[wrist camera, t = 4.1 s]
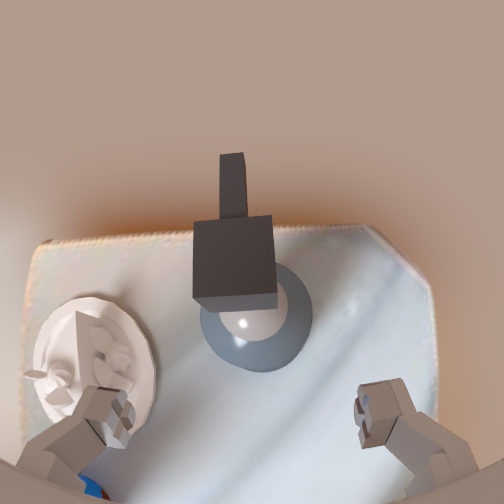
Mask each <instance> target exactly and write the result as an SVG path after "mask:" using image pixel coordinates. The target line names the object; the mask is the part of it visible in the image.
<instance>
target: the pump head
mask: <svg viewBox="0 0 504 504" xmlns="http://www.w3.org/2000/svg"><path fill="white" fill-rule="evenodd" d="M246 185H247V184H246V166H245V159H244V154H243V152H241V153H232V154H222V155H220V219H219V220H208V221H197V222H194V235H193V299H194V300H196V301H197V302H198V303H199V304H200V305H201V306H203V307H204V308H205V309H206V310H207V311H208V312H210V313H217V312H237V311H253V310H268V309H278V289H277V275H276V262H275V250H274V238H273V226H272V217H271V215H268V216H254V217H248V204H247V186H246Z"/></svg>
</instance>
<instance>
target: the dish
mask: <svg viewBox="0 0 504 504" xmlns="http://www.w3.org/2000/svg"><path fill="white" fill-rule="evenodd" d="M23 376H24V377H26V378H29V379H34V381H35V382H34V384H33V386H35V387H36V391H37V395H38V397H39V399H40V401H41V403H42V405H43V407H44V409H45V411H46V413H47V415H48V417H49V418H50V419H51V420H52V421H53V422H54V423H55V424H56V423H57V422H59V421H60V420H62V419H63V418H65V417H66V416H68V415H70V416H71V415H72V413H73V411H74V409H75V407H76V405H77V403H78V401H79V399H80V397H81V395H82V393H83V391H84V389H85V388H86V387H87V386H88V385H93V386H99V387H106V388H112V389H119V390H125V392H126V393H127V395H128V398H127V400H128V401H129V402H130V403H132V404H133V406H134V409H135V413H136V415H135V423H134V426H133V427H132V428H131V429H130V430H129V431H128V432H129V434H130V437H131V436H132V435H133V434H134V433H135V432H136V431H137V430H138V429H139V428H140V427H141V426H142V425H143V424H144V423H145V422H146V420H147V418H148V415H149V413H150V410H151V408H152V405H153V403H154V400H155V395H156V366H155V363H154V359H153V355H152V351H151V348H150V344H149V341H148V340H147V338H146V337H145V335H144V333H143V332H142V330H141V329H140V327H139V326H138V324H137V322H136V321H135V319H134V318H132V317H131V316H130V315H129V314H127V313H126V312H125V311H124V310H122V309H121V308H120V307H119V306H117V305H116V304H114V303H112V302H108V301H105V300H101V299H98V298H95V297H86V298H79V299H72V300H70V301H69V302H67V303H65V304H64V305H62V306H60V307H59V308H57V309H56V310H54V312H53V313H52V314H51V315H50V317H49V318H48V319H47V321H46V322H45V323H44V324H43V326H42V327H41V330H40V333H39V336H38V338H37V341H36V344H35V347H34V357H33V370H30V371H28V372H26V373H25V374H23ZM106 447H107V446H106Z"/></svg>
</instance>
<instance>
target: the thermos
mask: <svg viewBox="0 0 504 504" xmlns="http://www.w3.org/2000/svg"><path fill="white" fill-rule="evenodd" d="M78 477H79V478H80V479H81V480H83V481H84V482H85V484H86V488H85V491H84V494H87V495H90V496H94V497H97V498H101V499H104V500H108V501H110V499H109V497H108V496H107V494H106V493H105V492H104V490H103V489H102V488H101V487H100V486H98V485H97V484H96V483H95V482H94V481H92V480H90V479H88V478H86V477H83V476H78Z"/></svg>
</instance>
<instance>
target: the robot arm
mask: <svg viewBox="0 0 504 504" xmlns="http://www.w3.org/2000/svg"><path fill="white" fill-rule="evenodd" d="M357 394H358V398H357V399H355V403H354V419H355V423H356V425H358V426H359V427H360V430H359V433H358V435H359V439H360V443H361V447H362V449H366V448H372V447H377V446H383V445H385V447H386V448H387V449H388V450H389V451H390V452H391V453H392V454H393V455H394V456H396V457H397V458H398V459H399V460H400V461H401V462H402V463H403V464H404V465H405V466H406V467H407V468H408V469H409V470H411V471H412V472H413V473H414V474H415V475H416V476H415V477H414V478H413V479H412V481H411V482H410V483H409V484H408V485H407V487H406V488H405V489H406V493H407V498H403V499H400V500H396V501H392V502H389V503H385V504H504V458H503V459H501V460H500V461H498V462H496V463H494V464H492V465H490V466H488V467H486V468H484V469H481V470H479V469H478V466H477V464H476V462H475V459H474V457H473V454H472V452H471V450H470V448H469V445H468V443H467V442H466V441H464V440H463V439H461V438H460V437H458V436H457V435H455V434H454V433H452V432H451V431H449V430H448V429H446V428H445V427H443V426H442V425H440V424H439V423H437V422H436V421H434V420H433V419H431V418H430V417H428V416H427V415H425V414H424V413H422V412H421V411H420V412H416V409H415V407H414V405H413V402H412V400H411V398H410V395H409V393H408V391H407V388H406V386H405V384H404V382H403V380H402V379H401V378H397V379H392V380H387V381H386V380H384V381H379V382H373V383H368V384H362V385H359V387H358V390H357ZM127 398H128V395H127V393H126V392H125V390H119V389H112V388H106V387H99V386H93V385H88V386H87V387H86V388H85V389H84V391H83V393H82V395H81V397H80V399H79V401H78V403H77V405H76V407H75V409H74V411H73V413H72V415H71V416H70V415H68V416H66V417H65V418H63V419H62V420H60V421H59V422H57V423H56V424H54V425H53V426H51V427H50V428H48V429H47V430H45V431H44V432H42V433H41V434H39V435H38V436H36V437H35V438H33V439H31V440H30V441H28V442H27V444H26V446H25V448H24V450H23V452H22V454H21V456H20V458H19V460H18V462H17V464H16V466H14V465H12V464H10V463H8V462H6V461H4V460H3V459H0V504H120V503H115V502H112V501H108V500H104V499H101V498H97V497H94V496H90V495H87V494H84V491H85V488H86V484H85V482H84V481H83V480H81V479H80V478H79V477H78V476H77V475H78V474H79V473H80V472H81V471H82V470H83V469H84V468H86V467H87V466H88V465H89V464H90V463H91V462H92V461H93V460H94V459H95V458H96V457H97V456H98V455H99V454H100V453H101V452H102V451H104V450H105V449H106V446H107V447H112V448H118V449H125V450H126V448H127V445H128V441H129V438H130V434H129V432H128V431H129V430H130V429H131V428H132V427H133V426H134V423H135V415H136V413H135V409H134V406H133V404H132V403H130V402H129V401H128V400H127Z"/></svg>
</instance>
